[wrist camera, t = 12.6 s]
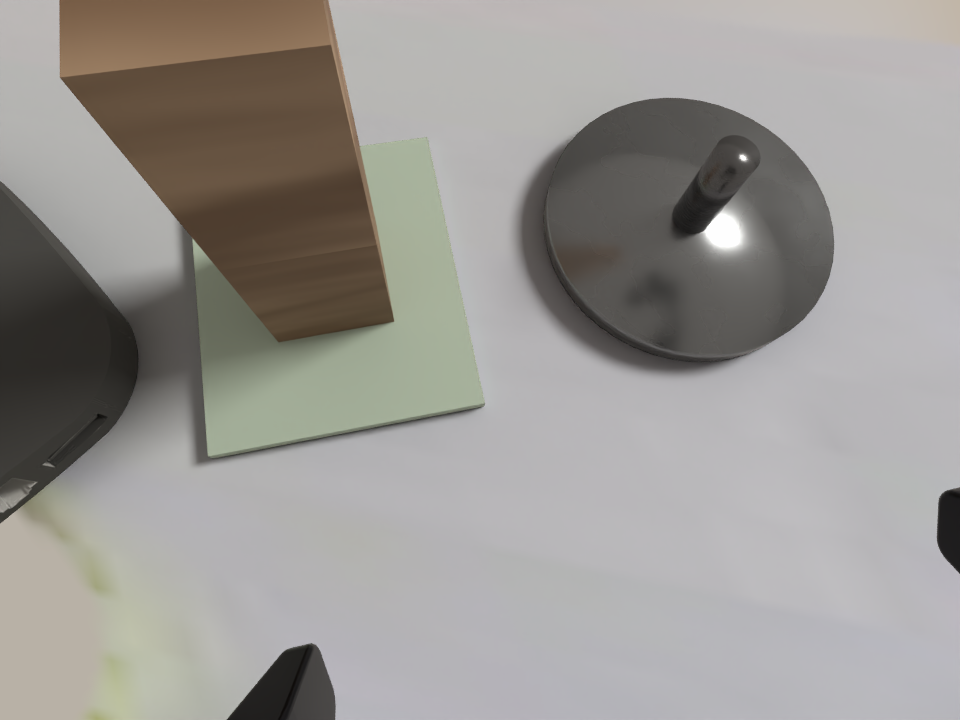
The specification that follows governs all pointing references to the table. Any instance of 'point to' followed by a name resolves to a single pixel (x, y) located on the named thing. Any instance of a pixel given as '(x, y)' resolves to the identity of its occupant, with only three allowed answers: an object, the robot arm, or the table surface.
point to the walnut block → (241, 145)
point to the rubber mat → (346, 333)
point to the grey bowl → (687, 229)
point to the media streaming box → (53, 357)
